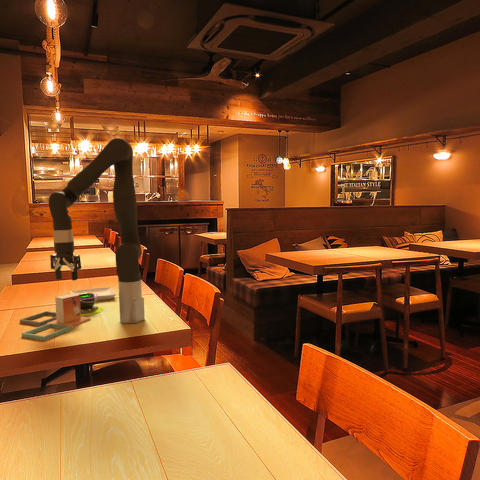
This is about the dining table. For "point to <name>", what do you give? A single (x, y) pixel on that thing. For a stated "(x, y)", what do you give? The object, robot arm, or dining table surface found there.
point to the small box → (68, 308)
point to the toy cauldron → (88, 304)
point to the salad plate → (98, 293)
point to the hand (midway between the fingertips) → (66, 279)
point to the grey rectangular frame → (27, 319)
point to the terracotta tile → (72, 322)
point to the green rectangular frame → (63, 329)
